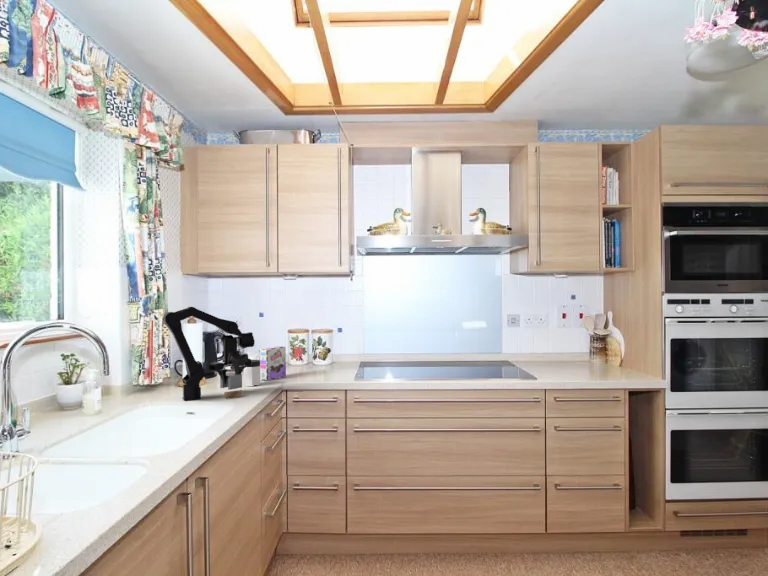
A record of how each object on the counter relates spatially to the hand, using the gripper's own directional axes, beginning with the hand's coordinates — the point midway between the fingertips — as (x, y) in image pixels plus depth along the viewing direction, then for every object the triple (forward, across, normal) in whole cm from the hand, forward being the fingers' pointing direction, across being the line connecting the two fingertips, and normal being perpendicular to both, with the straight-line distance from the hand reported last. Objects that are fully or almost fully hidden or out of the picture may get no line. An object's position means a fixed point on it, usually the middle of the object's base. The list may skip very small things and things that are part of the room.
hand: (231, 383), depth 207 cm
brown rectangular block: (+5, -4, -8) cm, 10 cm away
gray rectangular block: (+2, 0, 0) cm, 2 cm away
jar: (+5, +17, +8) cm, 19 cm away
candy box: (+5, +34, +13) cm, 36 cm away
